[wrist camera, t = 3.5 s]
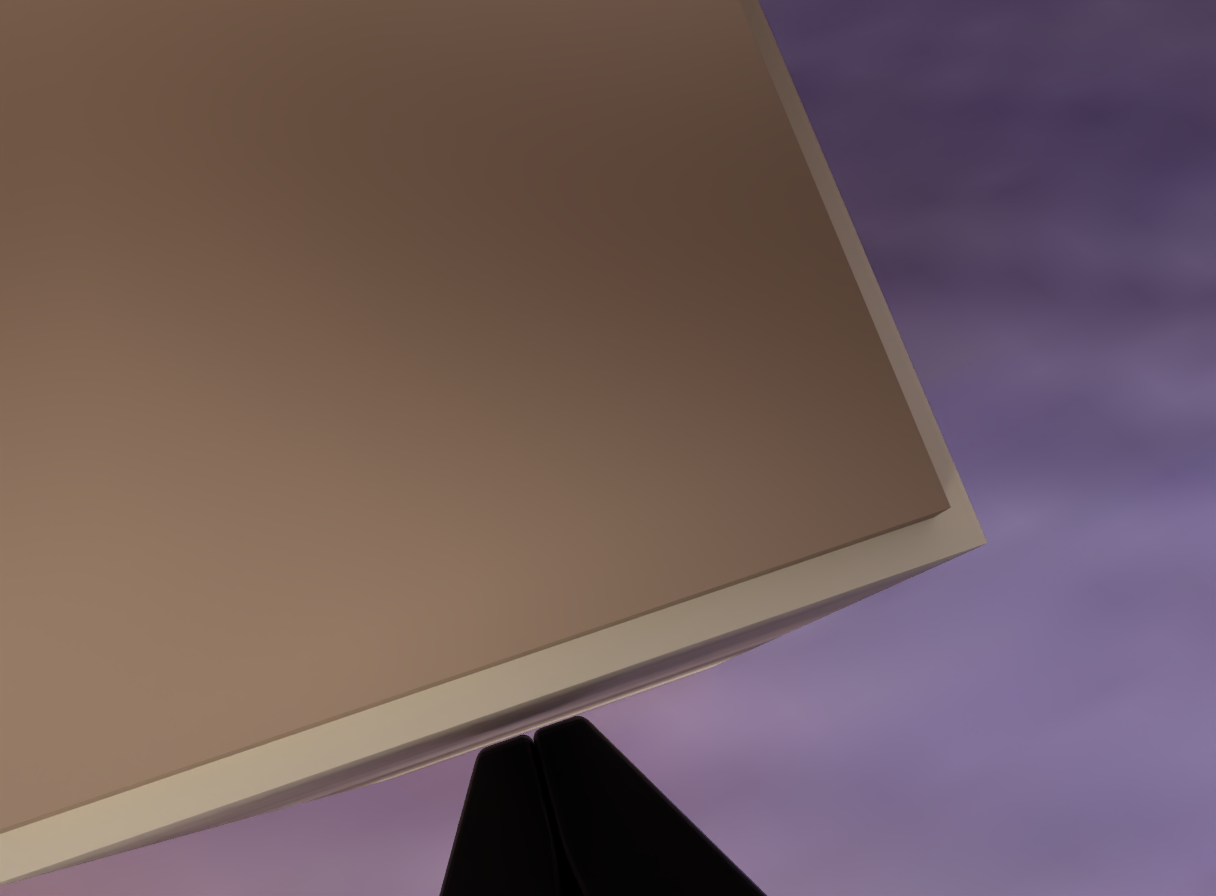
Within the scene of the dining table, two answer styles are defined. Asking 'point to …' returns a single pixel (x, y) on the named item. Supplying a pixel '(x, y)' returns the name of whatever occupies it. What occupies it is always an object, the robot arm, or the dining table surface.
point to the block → (413, 391)
